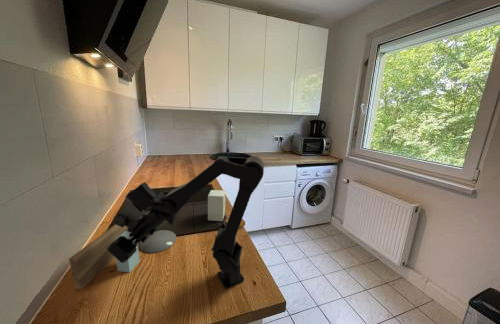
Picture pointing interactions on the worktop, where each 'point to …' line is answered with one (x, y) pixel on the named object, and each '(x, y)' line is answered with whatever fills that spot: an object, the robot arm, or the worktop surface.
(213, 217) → the supplement box
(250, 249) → the worktop surface
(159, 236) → the saucer
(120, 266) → the blue block
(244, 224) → the pastry
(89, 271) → the backboard
